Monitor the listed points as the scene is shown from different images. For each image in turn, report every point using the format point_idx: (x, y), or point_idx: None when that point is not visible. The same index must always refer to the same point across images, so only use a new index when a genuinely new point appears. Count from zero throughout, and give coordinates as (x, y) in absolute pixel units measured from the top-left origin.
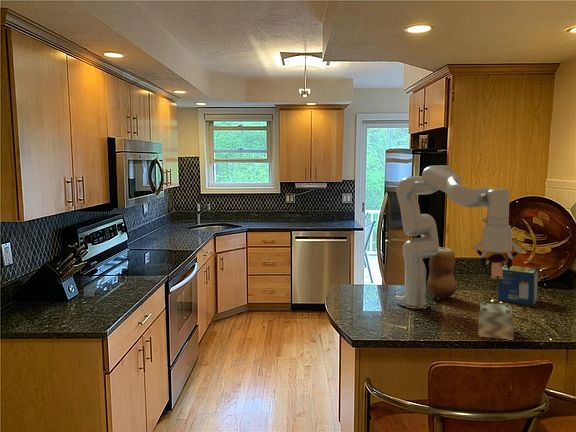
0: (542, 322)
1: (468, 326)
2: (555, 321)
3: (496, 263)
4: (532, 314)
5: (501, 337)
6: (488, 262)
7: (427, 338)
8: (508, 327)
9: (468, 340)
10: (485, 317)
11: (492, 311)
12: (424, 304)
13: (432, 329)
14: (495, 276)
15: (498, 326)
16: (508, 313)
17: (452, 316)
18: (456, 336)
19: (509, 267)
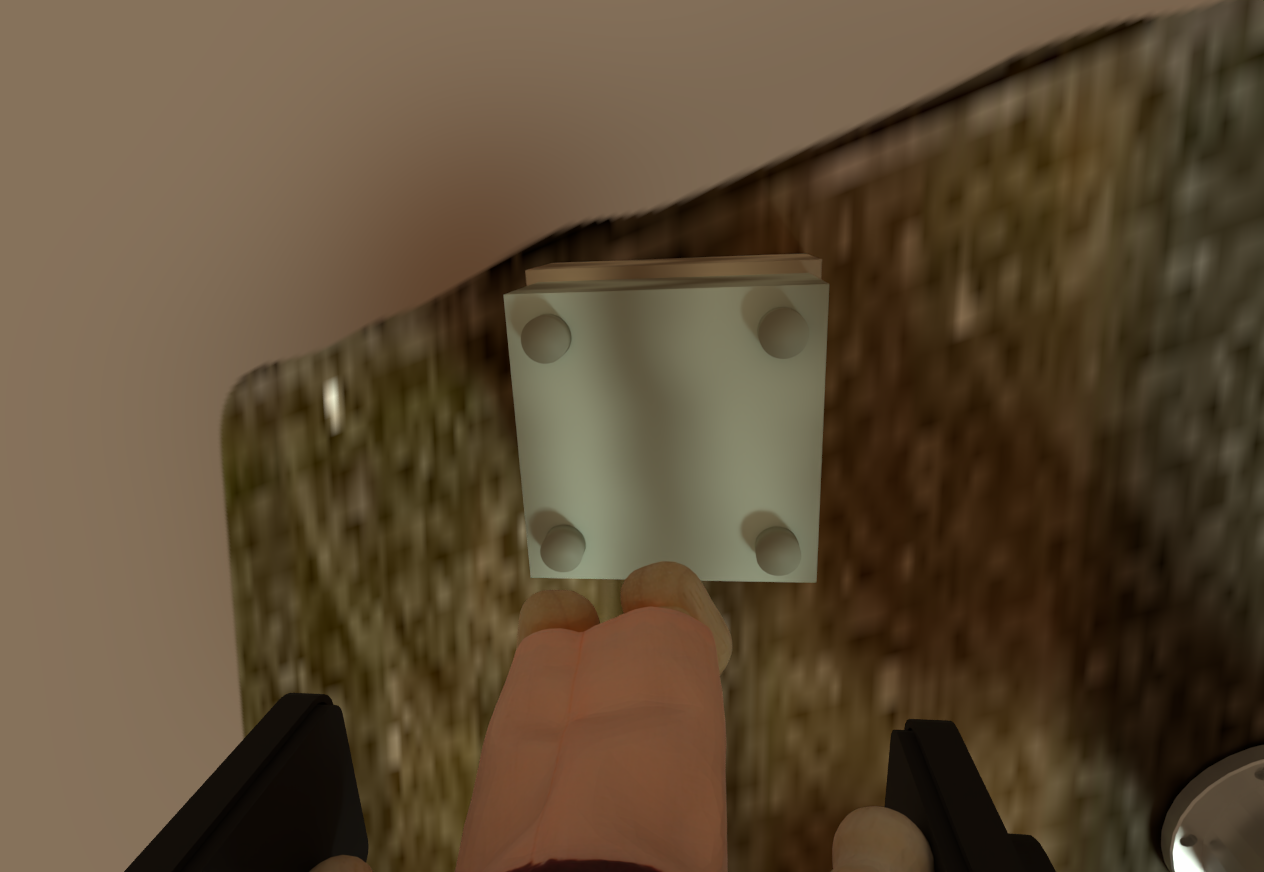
0: (392, 698)
1: (871, 480)
2: None
3: (579, 842)
4: (453, 826)
5: (633, 260)
6: (840, 869)
7: (1260, 47)
8: (568, 268)
9: (885, 144)
10: (766, 280)
11: (699, 316)
12: (1228, 821)
13: (1184, 311)
14: (643, 607)
15: (649, 265)
16: (543, 300)
17: (984, 667)
18: (982, 207)
19: (266, 719)
